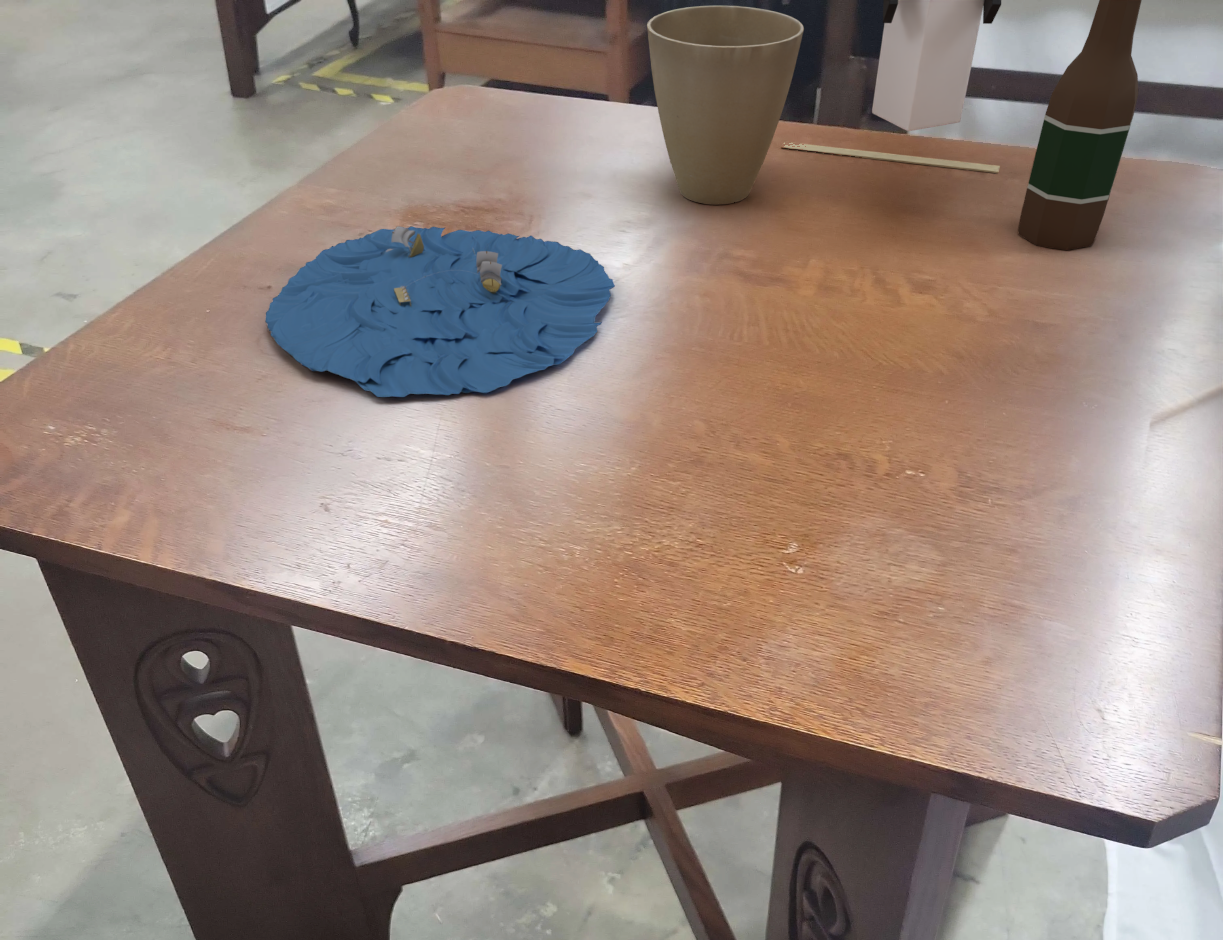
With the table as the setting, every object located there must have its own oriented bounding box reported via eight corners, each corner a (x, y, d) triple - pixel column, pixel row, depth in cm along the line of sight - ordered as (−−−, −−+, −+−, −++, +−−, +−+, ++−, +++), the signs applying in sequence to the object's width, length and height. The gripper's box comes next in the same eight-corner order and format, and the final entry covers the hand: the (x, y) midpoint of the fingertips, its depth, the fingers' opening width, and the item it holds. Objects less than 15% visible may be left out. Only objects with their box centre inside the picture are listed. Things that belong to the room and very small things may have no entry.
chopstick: (999, 167, 117) (1000, 165, 117) (997, 173, 115) (998, 171, 115) (784, 143, 123) (785, 141, 123) (781, 148, 122) (781, 146, 122)
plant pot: (684, 230, 105) (690, 53, 95) (622, 179, 115) (622, 15, 105) (814, 204, 110) (834, 33, 99) (744, 158, 120) (755, -2, 109)
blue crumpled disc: (686, 347, 90) (690, 289, 86) (349, 450, 78) (338, 388, 75) (521, 217, 108) (519, 165, 104) (227, 285, 96) (213, 229, 93)
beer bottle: (998, 234, 104) (1066, -53, 88) (1043, 212, 107) (1115, -67, 91) (1071, 258, 99) (1156, -39, 83) (1114, 235, 103) (1204, -53, 87)
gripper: (1053, -205, 96) (1048, 40, 95) (821, -204, 98) (813, 38, 97) (1085, -279, 89) (1080, -14, 88) (833, -276, 90) (825, -14, 89)
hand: (941, 13), depth 92 cm, fingers closed on milk, 8 cm apart
